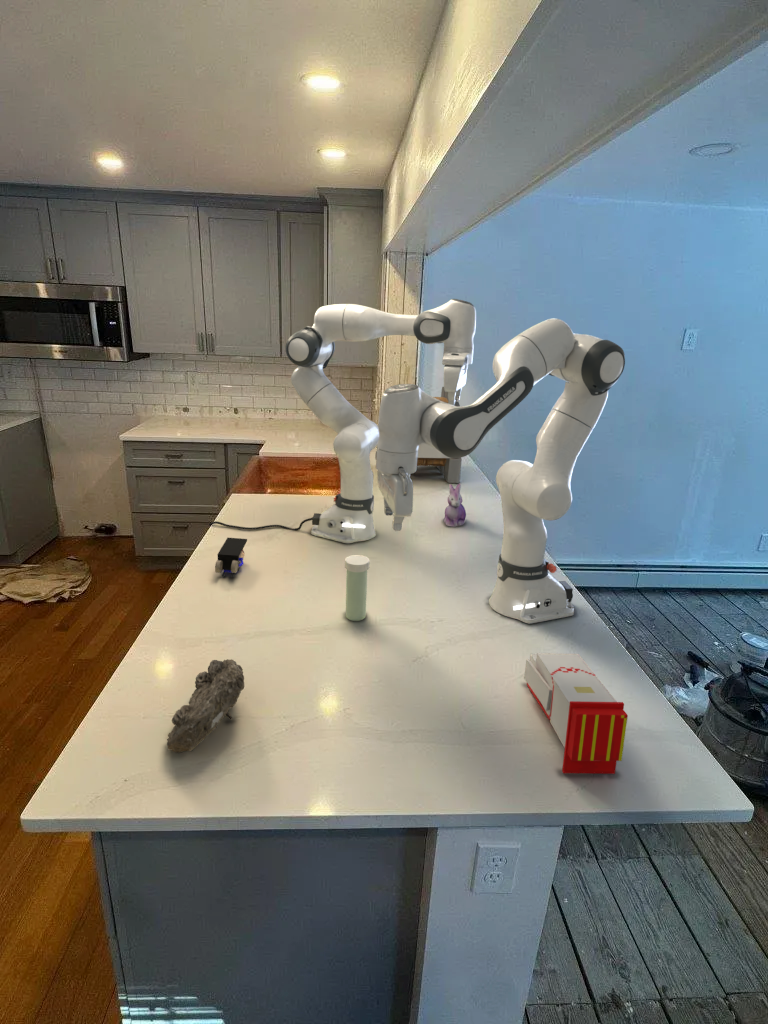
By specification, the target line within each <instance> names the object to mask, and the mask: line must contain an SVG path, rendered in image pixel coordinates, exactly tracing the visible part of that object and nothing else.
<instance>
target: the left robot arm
mask: <svg viewBox="0 0 768 1024" xmlns="http://www.w3.org/2000/svg"><path fill="white" fill-rule="evenodd" d="M476 327H477V309H476V306H475V305H474V304H473V303H472V302H470V301H467V300H463V299H458V298H451V299H450V300H448V301H447V302H445V303H444V304H441V305H439V306H437V307H435V308H431V309H427V310H424V311H422V312H421V313H419V314H399V313H391V312H386V311H383V310H380V309H377V308H374V307H370V306H366V305H361V304H355V303H335V304H327V305H322V306H320V307H318V308H317V309H316V311H315V313H314V317H313V325H312V326H310V325H306V326H305V327H303V328H301V329H299V330H298V331H295V333H293V334H292V335H291V336H290V337H289V338H288V339H287V340H286V344H285V354H286V357H287V359H289V361H290V362H292V364H294V365H296V366H297V367H295V369H294V370H293V371H292V373H291V375H290V380H291V381H290V383H291V384H292V386H293V388H294V390H295V391H296V393H297V395H298V396H299V397H300V399H301V400H302V401H303V403H304V404H305V405H306V407H307V408H308V409H309V410H310V411H311V412H312V413H313V415H314V416H315V417H316V418H317V419H318V420H319V422H320V423H321V424H323V425H324V426H326V427H328V428H330V429H331V430H332V431H334V432H335V433H336V436H335V438H334V439H333V443H332V446H333V448H332V449H333V451H334V454H335V455H336V457H337V462H338V466H339V473H340V488H339V489H340V490H339V491H338V492H337V494H336V495H335V496H334V497H333V502H334V504H333V505H331V506H329V507H328V508H326V509H325V510H323V512H321V513H317V512H314V513H313V515H312V517H309V518H306V519H304V520H302V521H301V522H300V524H299V525H298V527H295V528H291V527H288V526H286V525H282V524H268V525H261V526H254V527H249V526H248V527H245V526H238V525H234V524H233V525H232V524H227V523H224V522H221V521H211V522H210V523H209V524H208V526H209V527H210V526H211V527H212V526H213V525H221V526H223V527H226V528H233V529H239V530H245V531H246V530H249V531H254V530H255V531H257V530H262V529H268V528H269V529H270V528H280V529H281V528H282V529H285V530H289V531H293V532H294V531H296V532H297V531H300V530H301V528H302V526H303V525H304V524H305V523H307V522H311V526H312V528H311V530H310V533H311V536H315V537H319V538H323V539H326V540H330V541H336V542H339V543H343V544H352V543H357V542H365V541H368V540H372V539H373V538H375V537H376V535H377V532H376V528H375V523H374V513H373V512H374V509H375V496H374V472H373V470H372V466H371V465H372V464H371V460H370V459H371V457H370V455H371V452H372V451H373V450H374V449H376V448H377V443H378V441H379V429H378V423H376V422H375V421H373V420H371V419H369V418H368V417H366V415H364V414H363V413H362V412H361V411H360V410H358V409H357V408H356V407H355V406H353V404H352V403H350V402H349V400H347V399H346V398H345V397H344V396H343V394H342V393H341V392H340V391H339V389H338V388H337V387H336V386H335V385H334V384H333V382H332V381H331V380H330V379H329V378H328V377H327V376H326V374H325V372H324V369H326V368H327V366H328V365H329V362H330V360H331V359H332V357H333V356H334V352H335V350H336V343H335V342H353V343H356V342H366V341H371V340H376V339H378V338H384V337H388V336H409V337H415V338H416V339H417V340H418V341H420V343H423V344H426V345H434V344H435V345H436V344H443V354H442V362H441V363H442V365H443V387H444V390H445V392H448V400H449V401H448V404H451V405H455V402H460V400H461V393H462V390H463V388H464V387H465V386H466V383H467V373H468V368H469V365H473V360H474V359H473V358H474V347H475V345H474V337H475V334H476Z"/></svg>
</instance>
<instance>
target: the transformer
mask: <svg viewBox="0 0 768 1024" xmlns="http://www.w3.org/2000/svg"><path fill="white" fill-rule="evenodd" d="M440 393H441V394H440V396H433V397H434V398H436V399H438V400H440V401H443V402H446V403H448V401H449V400H448V392H445V390H444V386H442V387H441V392H440ZM454 406H457V407H461V405H460V401H458V402H455V405H454ZM462 458H463V457H462ZM462 458H450V457H447V456H445V455H444V454H442V453H441V452H440V451H438V450H437V449H436V448H434V447H432V446H430V445H428V444H427V443H422V444H420V445H419V447H418V458H417V467H436V468H437V470H438V469H439V473H440V474H441V475H443V478H444V479H445V481H446V482H447V483H449V484H455V483H456V484H460V483H461V472H462V461H463V460H462Z"/></svg>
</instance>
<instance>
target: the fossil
mask: <svg viewBox="0 0 768 1024" xmlns="http://www.w3.org/2000/svg"><path fill="white" fill-rule="evenodd" d="M243 670H244V669H243V667H242V665H240V664H237V662H236V661H235V660H234V659H232V658H231V659H227V658H226V659H224V660H223V661H222V660H217V659H212V660H211V661H210V663H209V665H208V666H207V671H201V672H199V673H198V674H197V675H196V676H195V680H194V684H195V685H194V687H195V689H194V690H193V693H192V694H191V697H190V698H189V700H188V704H184V705H182V706H181V707H180V709H177V710H176V711H175V713H174V715H173V716H172V718H171V723H172V724H173V727H172V730H171V731H170V732H168V734H167V738H166V741H167V742H166V745H167V749H168V750H169V751H173V752H174V753H176V754H178V753H182V752H188V751H189V752H192V751H193V750H195V748H196V747H197V746H199V744H200V743H201V742H203V741H204V740H205V739H206V738H207V737H208V736H209V735H210V734H211V733H212V732H214V730H215V729H217V727H218V726H219V724H220V722H221V721H222V720H223V719H224V718H225V716H226V717H227V719H229V720H233V717H232V715H230V714H229V710H230V709H231V708H234V706H235V704H236V703H237V702H238V699H239V697H240V695H241V693H242V691H243V690H245V689H244V688H245V675H244V671H243Z"/></svg>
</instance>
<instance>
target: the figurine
mask: <svg viewBox="0 0 768 1024" xmlns="http://www.w3.org/2000/svg"><path fill="white" fill-rule="evenodd" d="M461 487H462V485H461V483H457V485H456V486H455V487H454V486H453V485H452V483H449V485H448V491H449V494H448V496H447V503H448V505H447V506H446V507H445V509H444V518H443V523H444V524H445V525H446V526H447V527H453V528H455V527H460V526H463V525H464V524H465V522H466V519H467V512H466V509H465V506H464V505H463V504H462V503H463V497H462V495H461Z"/></svg>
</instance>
